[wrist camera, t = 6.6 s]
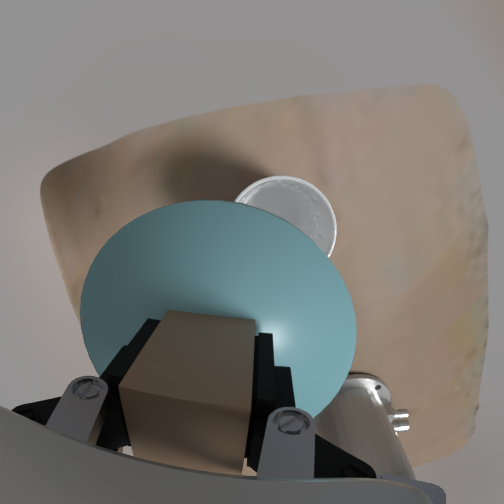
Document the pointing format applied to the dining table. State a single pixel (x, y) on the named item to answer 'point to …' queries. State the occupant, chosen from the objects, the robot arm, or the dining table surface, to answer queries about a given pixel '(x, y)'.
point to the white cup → (295, 206)
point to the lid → (213, 324)
